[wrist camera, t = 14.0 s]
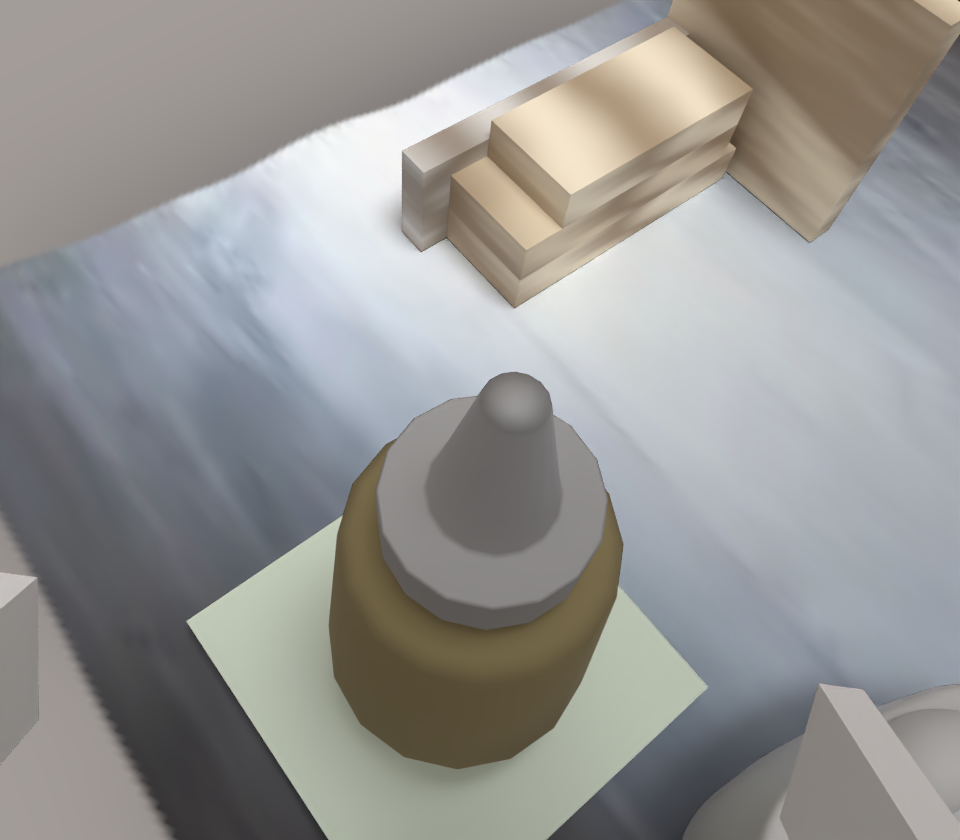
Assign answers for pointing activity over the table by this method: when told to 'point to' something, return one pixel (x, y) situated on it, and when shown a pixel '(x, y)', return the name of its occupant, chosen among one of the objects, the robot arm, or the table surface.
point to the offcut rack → (676, 131)
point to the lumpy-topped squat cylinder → (764, 784)
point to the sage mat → (411, 783)
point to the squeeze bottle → (473, 577)
